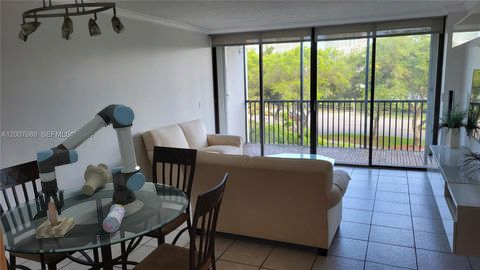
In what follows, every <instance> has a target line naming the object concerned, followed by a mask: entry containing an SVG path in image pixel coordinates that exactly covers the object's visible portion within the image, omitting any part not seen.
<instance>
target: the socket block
mask: <svg viewBox="0 0 480 270" xmlns="http://www.w3.org/2000/svg"><path fill="white" fill-rule="evenodd" d="M60 218H61V217H60ZM74 226H76V223H75V218H74V217H62V218H61V220H60V221H59V225H58V226H51V222H48V219H46V220H45V221H44V222H43V223H42V224H41V225H39V226H38V227H37V228H36V229H35V230H34V234H35V238H36V239H47V238H49V239H51V238H63V237H65V236H66V235H67V234H68V233H69V232H70V231H71V230H72V229H73V228H74ZM70 229H71V230H70ZM69 230H70V231H69ZM68 231H69V232H68ZM67 232H68V233H67ZM66 233H67V234H66ZM65 234H66V235H65ZM64 235H65V236H64Z"/></svg>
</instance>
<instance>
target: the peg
mask: <svg viewBox="0 0 480 270" xmlns="http://www.w3.org/2000/svg"><path fill="white" fill-rule="evenodd" d="M48 208H49V215H50V222H51V226H58V225H59V222H57V218H56V212H55V210H56V206H55V203H54V200H53V201H50V202H49V203H48Z"/></svg>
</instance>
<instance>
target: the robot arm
mask: <svg viewBox="0 0 480 270" xmlns="http://www.w3.org/2000/svg"><path fill="white" fill-rule="evenodd" d="M134 120H135V112H134V110H133V109H132V108H131V106H129V105H126V104H118V103H117V104H116V103H113V104H109V105H107V106H105V107H103V108H102V109H101V110H100V111H98V112H97V113H96V114H94V117H93V118H91V120H89V121H88V122H87V123H86V124H84V125H83V126H82V127H80V128H79V129H77V131H76V132H74V133H73V134H71V135H70V136H68V137H67V138H66V139H64V141H62V142H61V143H59V144H58V145H57V146H53V147H51V148H49V149H44V150H39V151H37V152H36V162H37V167H38V175H39V180H40V186H41V187H40V188H41V190H39V191H36V195H37V197H38V201H39V205H40V206H39V207H40V210H41V211H42V210H43V211H44V212H45V216H46V217H47V220H48V222H50V215H49V208H48V203H49V202H51V201H50V198H51V199H52V200H53V201H54V203H55V206H56V210H55V212H56V218H57V222H59V221H60V220H61V215H62V209H63V208H64V207H65V199H64V192H65V190H64V189H60V188H59V186H58V179H57V172H56V168H57V167H61V166H66V165H72V164H74V163H77V162H78V161H79V153H78V151H77V150H76V149H77V148H79V147H80V146H81V145H82V144H84V143H85V142H86V141H88V140H89V139H90V138H91V137H92V136H94V135H95V134H97V132H99V131H100V130H101V129H103V128H107V127H108V126H109V125H111V126H112V128H113V129H112V130H114V131H115V133H116V136H117V137H116V138H117V143H118V148H119V153H120V159H121V165H120V166H117V167H113V168H112V170H111V179H112V185H113V194H112V198H111V202H112V204H113V205H115V204H118V205H126V204H131V203H133V202H134V201H136V200H137V195H136V193H135V192H137V191H139V190H141V189H142V188H143V187H144V186H145V183H146V177H145V175H144V174H143V173H142V171H141V166H139V165H138V163H137V157H136V152H135V146H134V141H133V133H132V127H133V126H134V125H133V122H134Z"/></svg>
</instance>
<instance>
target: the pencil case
mask: <svg viewBox="0 0 480 270" xmlns="http://www.w3.org/2000/svg"><path fill="white" fill-rule="evenodd" d="M125 214H126V209H125V207H124V206H123V205H122V204H112V205H111V207H110V208H109V212H108V214H107V216H106V217H105V218H104V219H103V221H102V227H103V230H104V231H105V232H107V233H111V234H112V233H115V232H117V231H118V230H119V228H120V227H121V223H122V221H123V218H124V216H125Z"/></svg>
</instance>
